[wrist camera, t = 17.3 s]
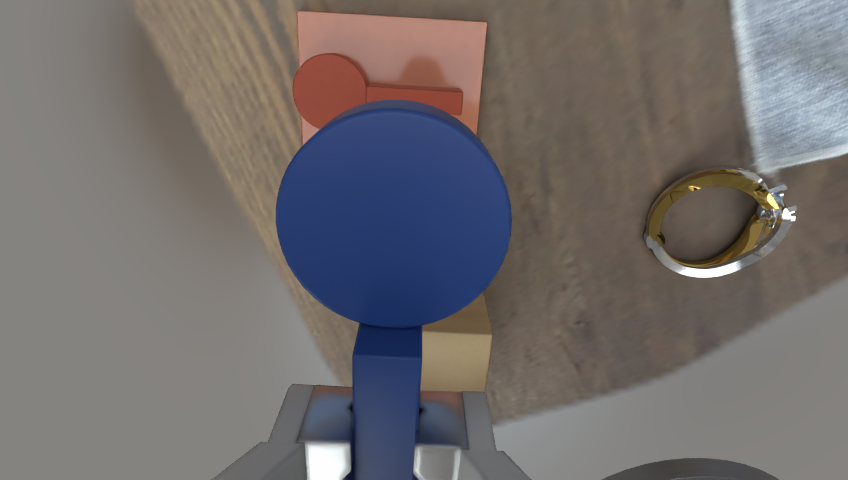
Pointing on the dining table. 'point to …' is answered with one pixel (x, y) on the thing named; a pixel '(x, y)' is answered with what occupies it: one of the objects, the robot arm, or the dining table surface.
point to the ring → (742, 251)
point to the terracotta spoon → (356, 90)
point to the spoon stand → (457, 350)
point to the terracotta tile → (401, 52)
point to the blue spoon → (392, 250)
